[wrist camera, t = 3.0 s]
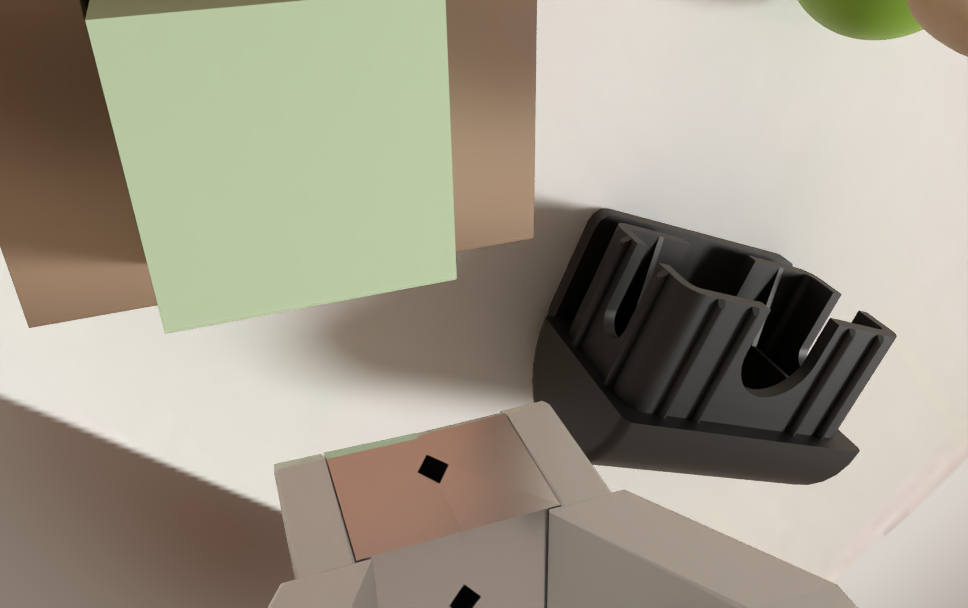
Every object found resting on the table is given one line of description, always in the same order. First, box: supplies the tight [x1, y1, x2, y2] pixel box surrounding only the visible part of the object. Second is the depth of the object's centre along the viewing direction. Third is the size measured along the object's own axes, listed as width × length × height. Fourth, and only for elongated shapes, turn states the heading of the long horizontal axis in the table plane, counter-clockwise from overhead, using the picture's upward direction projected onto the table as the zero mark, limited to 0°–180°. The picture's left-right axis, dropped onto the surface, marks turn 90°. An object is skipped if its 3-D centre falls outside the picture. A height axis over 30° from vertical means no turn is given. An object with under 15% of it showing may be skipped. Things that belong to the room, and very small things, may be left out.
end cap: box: [532, 209, 897, 485], centre depth 29 cm, size 10×7×7 cm
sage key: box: [85, 0, 457, 334], centre depth 18 cm, size 6×6×4 cm
